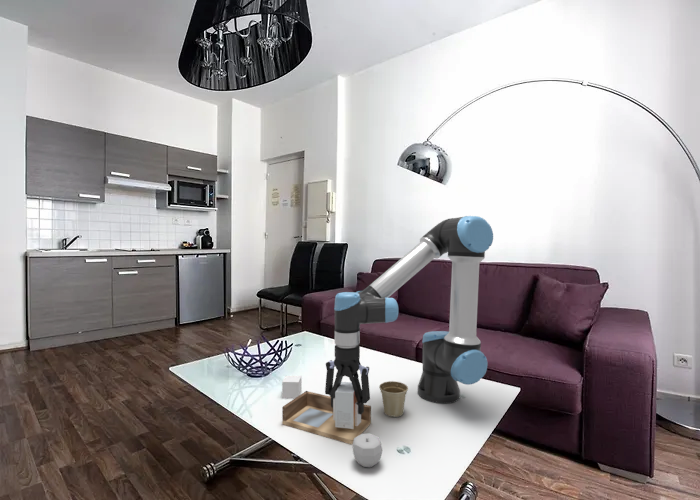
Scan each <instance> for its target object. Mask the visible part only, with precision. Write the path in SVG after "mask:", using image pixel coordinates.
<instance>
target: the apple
mask: <svg viewBox="0 0 700 500" xmlns="http://www.w3.org/2000/svg"><path fill="white" fill-rule="evenodd" d="M352 454H353V456H354V460H356V463H358V465H360V466H362V467H363V468H372V467H373V466H375V465H376V464H378V463H379V462H380V460H381V458H382V454H383V447H382V443H381V439H380V437H379V436H376V435H375V434H373V433H362V434H360V435H359V436H357V437H355V438H354V441H353V444H352Z"/></svg>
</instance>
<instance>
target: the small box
mask: <svg viewBox="0 0 700 500" xmlns="http://www.w3.org/2000/svg"><path fill="white" fill-rule="evenodd" d="M356 402H357V399H356V396H355V391H354V389H353V386H352V382H351V381H341V384H340V385H339V387H338V389H337V390H336V391H335V427H338V428H348V429H354V426H355V403H356Z"/></svg>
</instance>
